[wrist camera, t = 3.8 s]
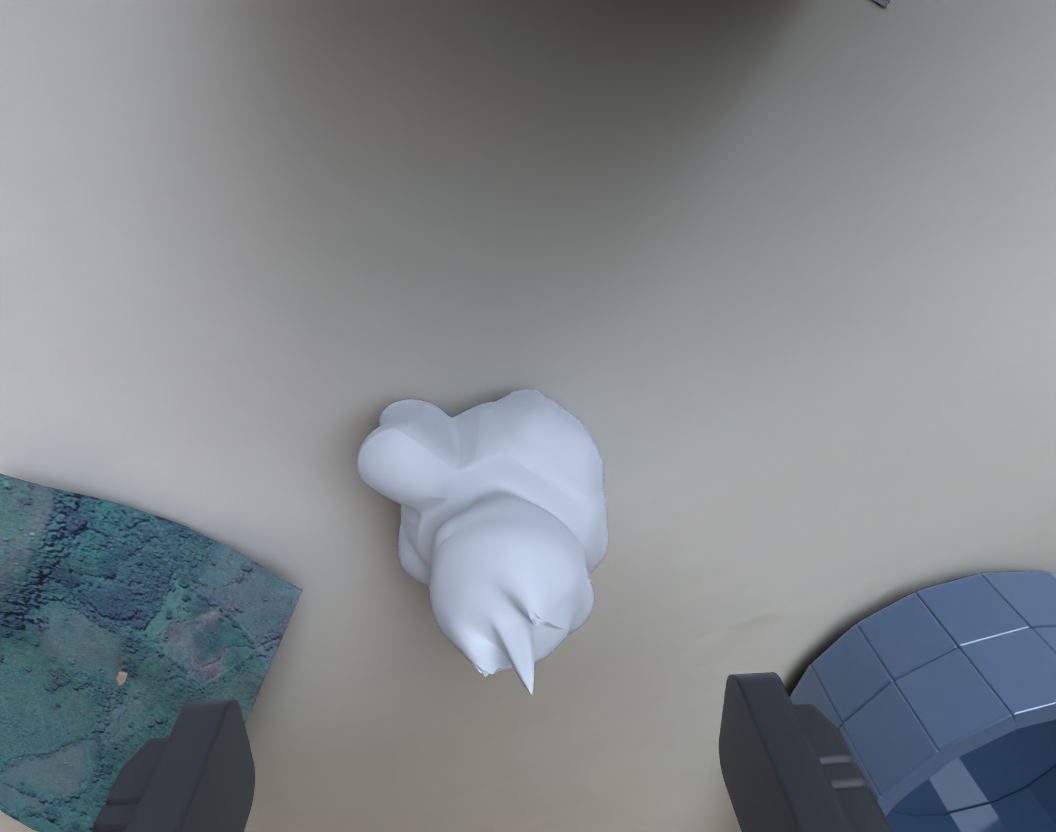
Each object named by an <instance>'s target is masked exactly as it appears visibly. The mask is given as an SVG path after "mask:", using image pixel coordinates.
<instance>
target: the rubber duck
mask: <svg viewBox="0 0 1056 832" xmlns="http://www.w3.org/2000/svg"><path fill="white" fill-rule="evenodd" d="M379 426H380V427H378V428H376V429H375V430H373V431H372V432H371V433H370V434H369V435H368V436H367V437H366V438H365V440H364V442H363V444H362V445H361V447H360V450H359V454H358V464H357V468H358V473H359V476H360V478H361V479H362V481H363V482H364V483H366V484H367V485H368V486H369V487H371V488H372V489H374V490H375V491H377V492H378V493H380V494H382V495H383V496H385V497H387V498H389V499H391V500H393V501H395V502H397V503H399V504H401V524H400V532H399V549H398V550H399V560H400V564H401V566H402V568H403V569H404V571H405V572H406V573H407V574H409V575H410V576H412V577H413V578H415V579H417V580H418V581H420V582H422V583H423V584H425V585H427V586H429V587H430V601H431V608H432V612H433V614H434V617H435V619H436V621H437V624H438V626H439V628H440V629H441V631H442V632H443V633H444V635H445V636H446V637H447V638H448V639H449V640H450V641H451V643H452V644H453V645H454V646H455V647H457V648H458V649H459V650H460V651H461V652H462V653H463V654H464V655H465V656H466V657H467V658H468V660H469V661H470V662H471V663H472V664H473V665H474V667H475V668H476V669H477V670H478V671H479V672H480V673H482V674H483V675H485V677H486V676H487V675H491V674H494V673H497V672H501V671H504V670H508V669H512V668H514V669H515V671H516V673H517V675H518V676H519V678H520V680H521V681H522V683H523V685H524V686H525V687H526V689H527V690H528V692H529V693H530V694H531V696H532V693H533V685H534V678H535V670H534V663H536V662H538V661H540V660H541V659H543V658H544V657H546V656H547V655H548V654H550V653H551V652H552V651H553V650H554V649H555V648H556V647H557V646H558V645H559V644H560V643H561V642H562V641H563V639H564V638H565V637H566V635H568V634H570V633H572V632H574V631H575V630H577V629H578V628H579V627H580V626H582V625H583V623H584V622H585V621H586V620H587V618H588V617H589V615H590V613H591V611H592V608H593V604H594V592H593V588H592V584H591V581H590V578H589V574H590V573H591V572H592V571H593V570H594V569H595V568H596V567H597V566H598V564H599V563H600V562H601V561H602V560H603V558H604V556H605V554H606V551H607V546H608V529H607V510H606V500H605V494H604V488H603V482H604V469H603V463H602V459H601V456H600V453H599V451H598V449H597V447H596V444H595V442H594V440H593V438H592V437H591V435H590V434H589V432H588V430H587V429H586V427H585V426H584V425H583V424H582V422H581V421H579V420H578V419H577V418H576V417H575V416H573V415H572V414H571V413H569V412H568V411H567V410H565V409H564V408H562V407H561V406H560V405H558V404H557V403H555V402H554V401H553V400H551V399H550V398H548V397H547V396H546V395H544V394H542V393H541V392H539V391H536V390H533V389H520V390H516V391H514V392H512V393H510V394H508V395H506V396H504V397H503V398H501V399H499V400H497V401H495V402H486V403H482V404H479V405H477V406H474V407H472V408H470V409H468V410H466V411H464V412H462V413H460V414H458V415H457V416H454V417H450V416H448V415H447V414H446V413H445V412H444V411H443V410H442V409H440V408H439V407H437V406H435V405H433V404H431V403H429V402H426V401H423V400H416V399H405V400H400V401H397V402H395V403H393V404H390V405H389V406H388V407H386V408H385V409H384V410H383V412H382V413H381V415H380V418H379Z"/></svg>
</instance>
